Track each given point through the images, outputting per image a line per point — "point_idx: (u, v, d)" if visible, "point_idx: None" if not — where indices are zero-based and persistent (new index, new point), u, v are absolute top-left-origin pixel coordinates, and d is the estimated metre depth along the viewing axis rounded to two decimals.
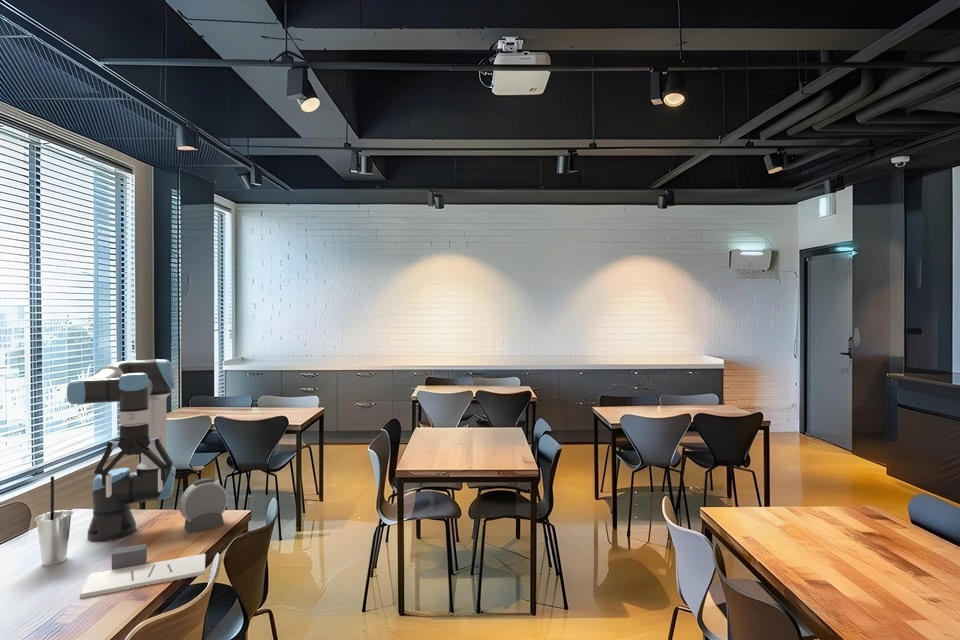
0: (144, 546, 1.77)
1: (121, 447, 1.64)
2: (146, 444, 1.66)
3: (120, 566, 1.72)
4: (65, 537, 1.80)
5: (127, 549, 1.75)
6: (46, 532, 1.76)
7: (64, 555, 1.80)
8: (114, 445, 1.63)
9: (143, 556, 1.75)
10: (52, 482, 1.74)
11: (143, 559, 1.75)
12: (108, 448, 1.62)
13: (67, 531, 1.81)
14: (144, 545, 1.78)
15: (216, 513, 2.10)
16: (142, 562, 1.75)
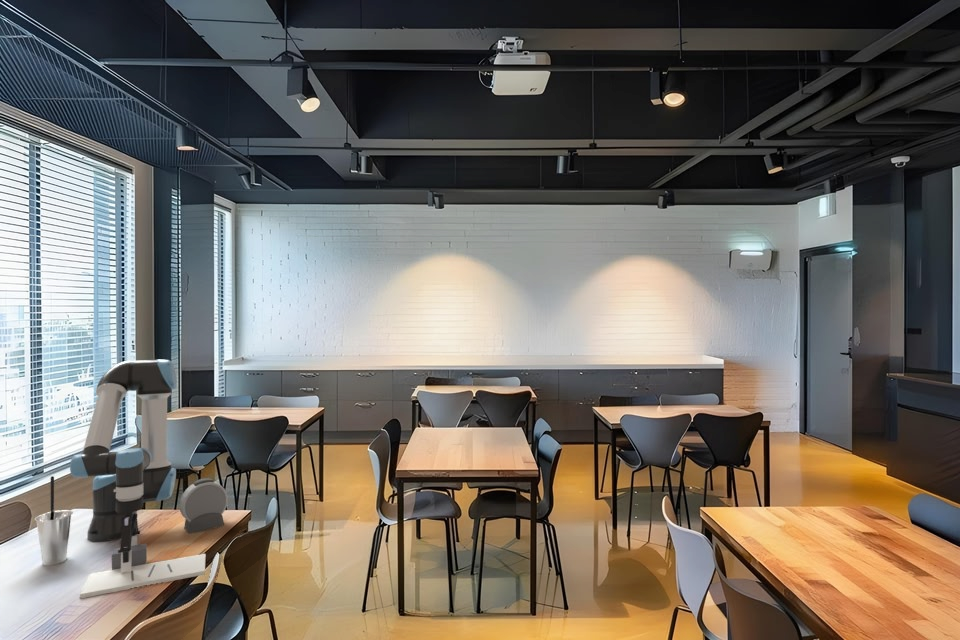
0: (144, 546, 1.78)
1: None
2: None
3: (120, 566, 1.72)
4: (65, 537, 1.80)
5: None
6: (46, 532, 1.76)
7: (64, 555, 1.80)
8: None
9: (143, 556, 1.75)
10: (52, 482, 1.74)
11: (143, 559, 1.75)
12: None
13: (67, 531, 1.81)
14: (144, 545, 1.78)
15: (216, 513, 2.10)
16: (142, 562, 1.75)
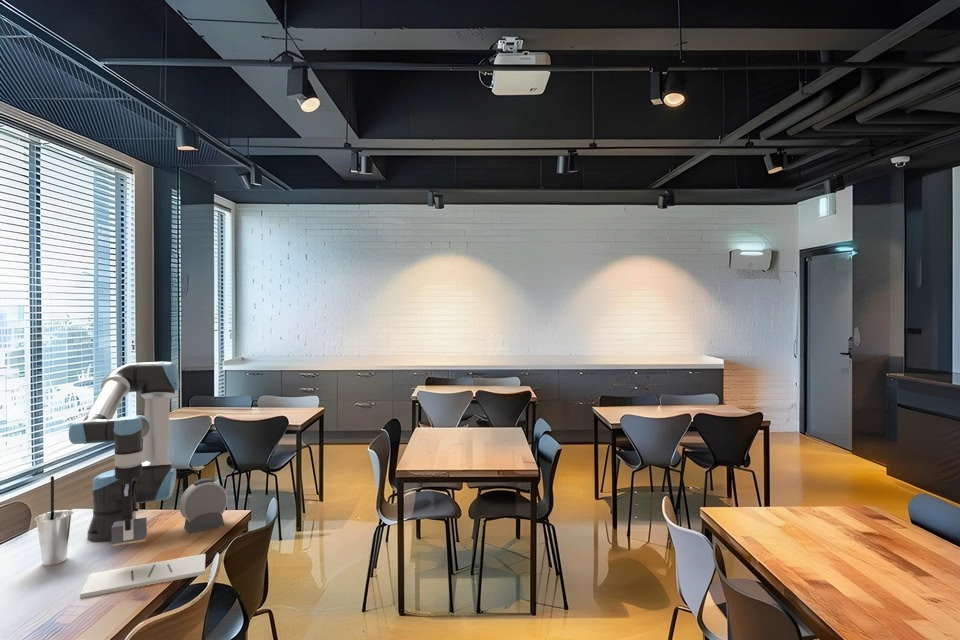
0: (144, 520, 1.78)
1: None
2: (123, 488, 1.72)
3: (120, 539, 1.73)
4: (65, 537, 1.80)
5: None
6: (46, 532, 1.76)
7: (64, 555, 1.80)
8: None
9: (143, 529, 1.75)
10: (52, 482, 1.74)
11: (143, 532, 1.75)
12: None
13: (67, 531, 1.81)
14: (144, 519, 1.79)
15: (216, 513, 2.10)
16: (142, 535, 1.75)
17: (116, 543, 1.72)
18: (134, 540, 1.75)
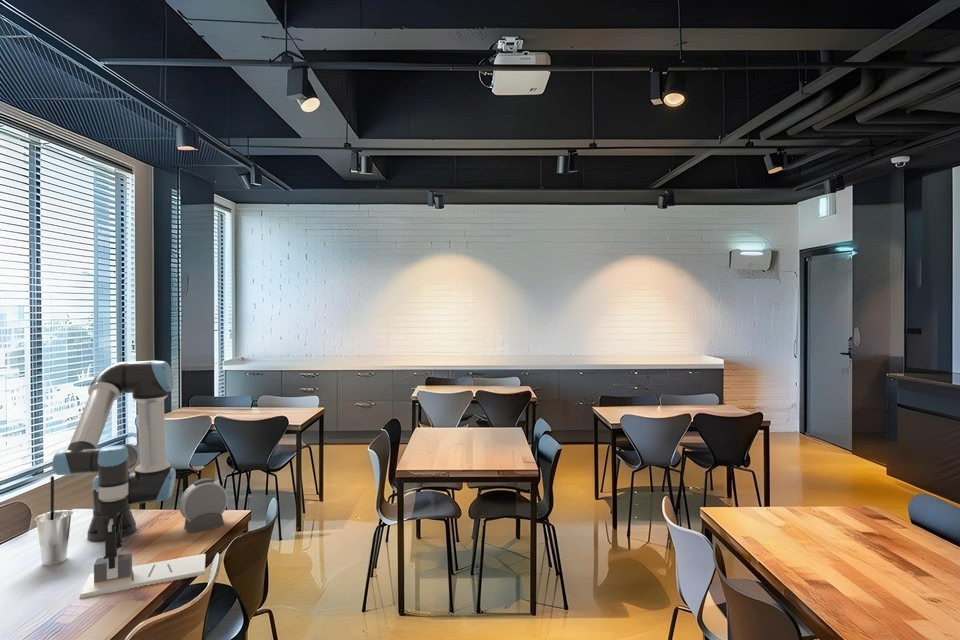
0: (129, 556, 1.67)
1: None
2: (107, 523, 1.62)
3: (103, 577, 1.62)
4: (65, 537, 1.80)
5: None
6: (46, 532, 1.76)
7: (64, 555, 1.80)
8: None
9: (128, 566, 1.65)
10: (52, 482, 1.74)
11: (128, 570, 1.65)
12: None
13: (67, 531, 1.81)
14: (129, 554, 1.68)
15: (216, 513, 2.10)
16: (127, 573, 1.65)
17: (99, 582, 1.62)
18: (118, 578, 1.64)
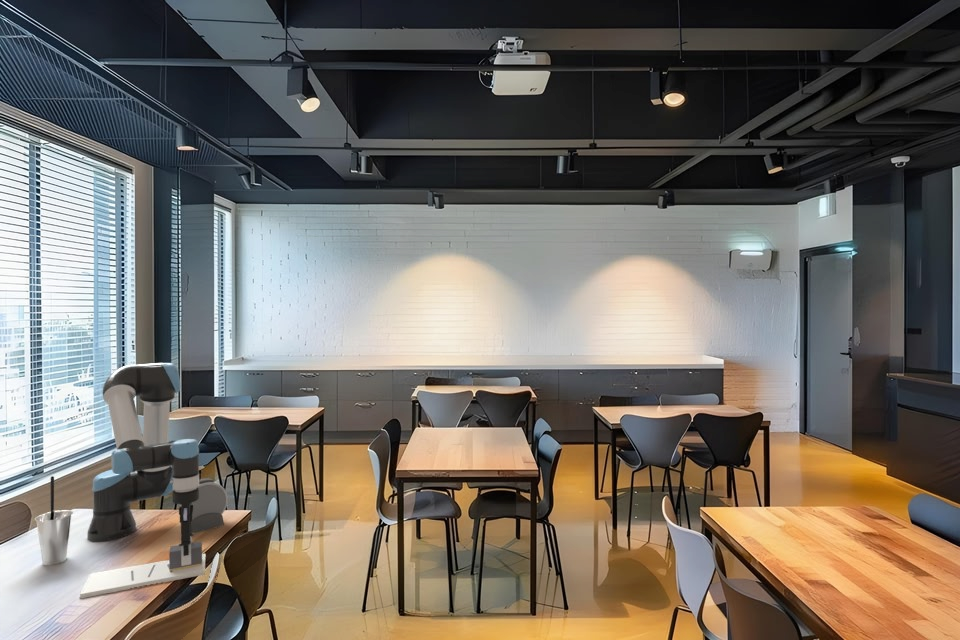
0: (200, 543, 1.76)
1: None
2: (181, 512, 1.70)
3: (177, 564, 1.71)
4: (65, 537, 1.80)
5: None
6: (46, 532, 1.76)
7: (64, 555, 1.80)
8: None
9: (200, 554, 1.73)
10: (52, 482, 1.74)
11: (200, 557, 1.73)
12: None
13: (67, 531, 1.81)
14: (200, 542, 1.77)
15: (216, 513, 2.10)
16: (199, 560, 1.73)
17: (174, 568, 1.70)
18: (191, 565, 1.72)
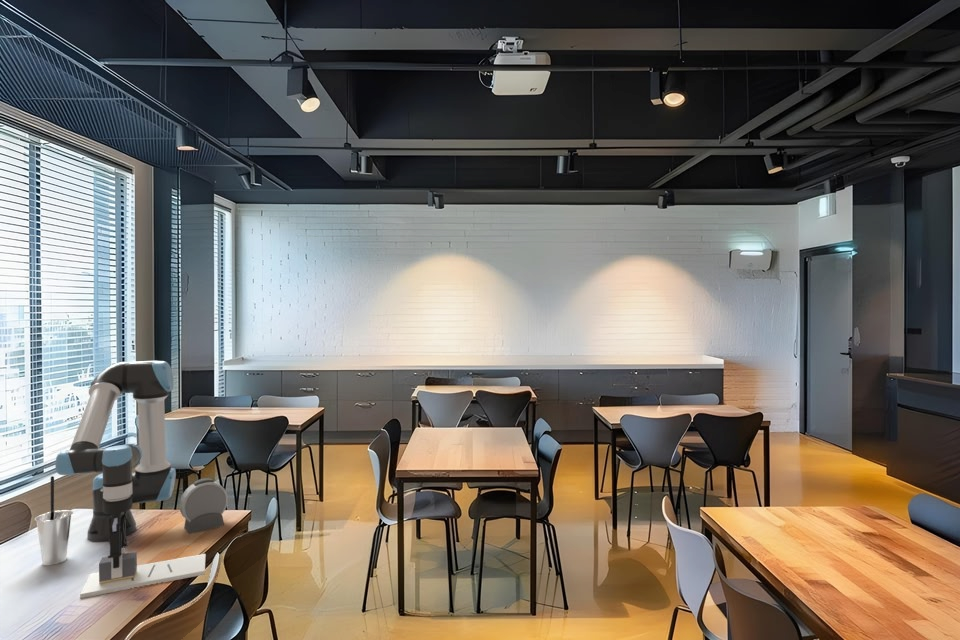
0: (134, 554, 1.68)
1: None
2: (111, 522, 1.62)
3: (108, 576, 1.63)
4: (65, 537, 1.80)
5: None
6: (46, 532, 1.76)
7: (64, 555, 1.80)
8: None
9: (132, 565, 1.65)
10: (52, 482, 1.74)
11: (132, 568, 1.65)
12: None
13: (67, 531, 1.81)
14: (134, 553, 1.69)
15: (216, 513, 2.10)
16: (131, 571, 1.65)
17: (104, 580, 1.62)
18: (122, 577, 1.64)
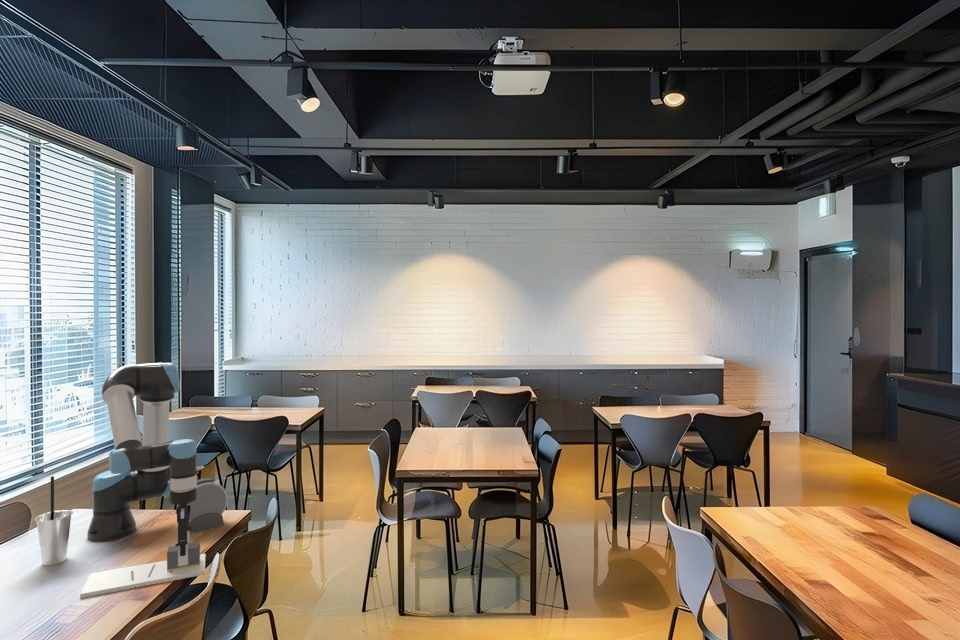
0: (198, 544, 1.75)
1: None
2: None
3: (175, 564, 1.70)
4: (65, 537, 1.80)
5: None
6: (46, 532, 1.76)
7: (64, 555, 1.80)
8: None
9: (198, 554, 1.73)
10: (52, 482, 1.74)
11: (198, 557, 1.73)
12: None
13: (67, 531, 1.81)
14: (198, 543, 1.76)
15: (216, 513, 2.10)
16: (197, 560, 1.73)
17: (171, 568, 1.70)
18: (188, 565, 1.72)
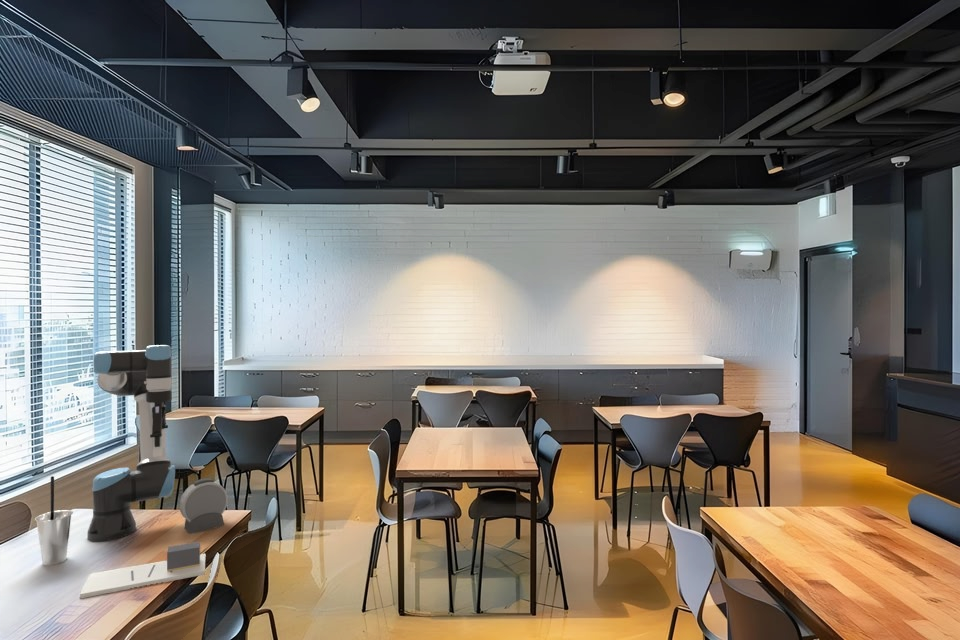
0: (198, 544, 1.75)
1: None
2: None
3: (175, 564, 1.70)
4: (65, 537, 1.80)
5: (181, 547, 1.73)
6: (46, 532, 1.76)
7: (64, 555, 1.80)
8: None
9: (198, 554, 1.73)
10: (52, 482, 1.74)
11: (198, 557, 1.73)
12: None
13: (67, 531, 1.81)
14: (198, 543, 1.76)
15: (216, 513, 2.10)
16: (197, 560, 1.73)
17: (171, 568, 1.70)
18: (188, 565, 1.72)
